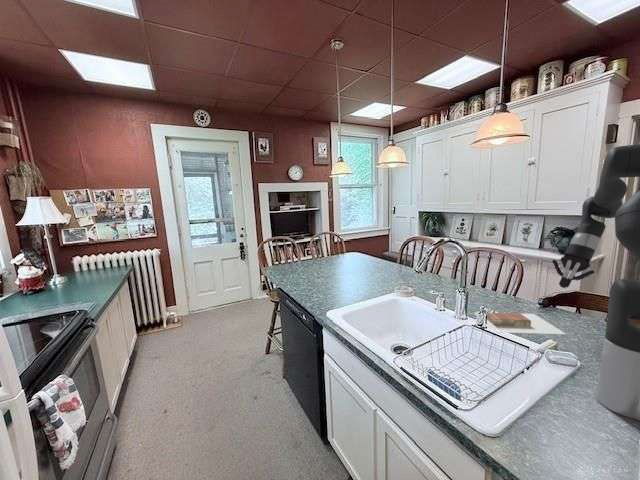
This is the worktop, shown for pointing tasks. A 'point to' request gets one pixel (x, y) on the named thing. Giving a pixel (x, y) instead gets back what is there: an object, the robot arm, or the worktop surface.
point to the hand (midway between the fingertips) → (562, 287)
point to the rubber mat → (536, 327)
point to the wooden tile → (508, 319)
